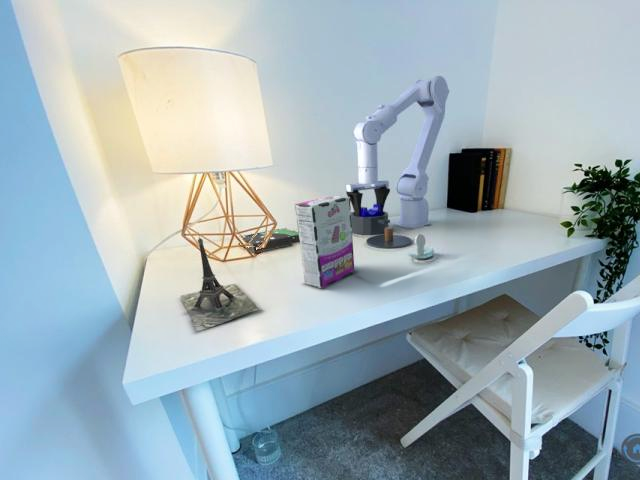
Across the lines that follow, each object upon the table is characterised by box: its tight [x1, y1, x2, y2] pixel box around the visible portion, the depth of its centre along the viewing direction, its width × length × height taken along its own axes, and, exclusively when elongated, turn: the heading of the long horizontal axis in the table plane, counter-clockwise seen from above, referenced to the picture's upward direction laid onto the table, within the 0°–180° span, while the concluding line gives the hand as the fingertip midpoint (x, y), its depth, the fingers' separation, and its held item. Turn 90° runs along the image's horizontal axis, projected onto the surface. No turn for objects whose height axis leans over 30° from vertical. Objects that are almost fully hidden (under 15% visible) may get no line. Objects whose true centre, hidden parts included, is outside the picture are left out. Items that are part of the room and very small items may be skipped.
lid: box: [365, 226, 413, 250], centre depth 94 cm, size 13×13×5 cm
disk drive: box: [237, 227, 300, 253], centre depth 95 cm, size 10×3×15 cm
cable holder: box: [359, 203, 382, 217], centre depth 105 cm, size 8×4×4 cm, turn 140°
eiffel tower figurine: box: [180, 232, 260, 332], centre depth 58 cm, size 15×10×13 cm
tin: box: [351, 210, 391, 236], centre depth 106 cm, size 12×17×6 cm
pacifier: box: [406, 233, 438, 264], centre depth 81 cm, size 7×6×6 cm
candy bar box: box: [294, 195, 355, 289], centre depth 69 cm, size 11×5×16 cm, turn 148°
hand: (369, 213), depth 105 cm, fingers closed on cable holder, 7 cm apart
